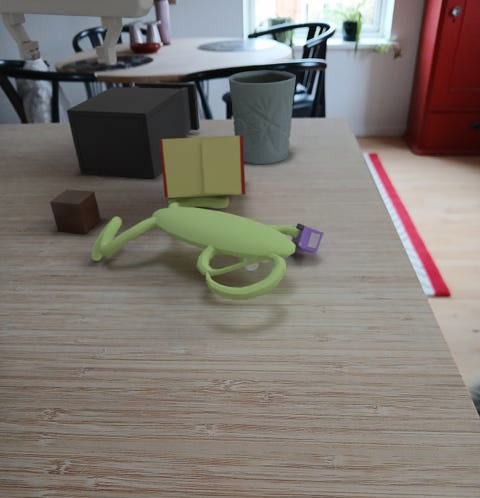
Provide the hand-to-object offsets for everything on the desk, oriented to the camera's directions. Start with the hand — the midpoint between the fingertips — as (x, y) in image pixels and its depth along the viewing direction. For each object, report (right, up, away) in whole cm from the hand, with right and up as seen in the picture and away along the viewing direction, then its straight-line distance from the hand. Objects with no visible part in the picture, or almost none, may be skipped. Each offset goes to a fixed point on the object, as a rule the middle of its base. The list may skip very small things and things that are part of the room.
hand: (68, 61), depth 57 cm
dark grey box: (+2, -2, +28) cm, 28 cm away
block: (-1, -17, +8) cm, 19 cm away
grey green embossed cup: (+23, -2, +28) cm, 36 cm away
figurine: (+16, -22, 0) cm, 27 cm away
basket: (+5, +5, +36) cm, 36 cm away
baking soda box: (+15, -6, +17) cm, 23 cm away
